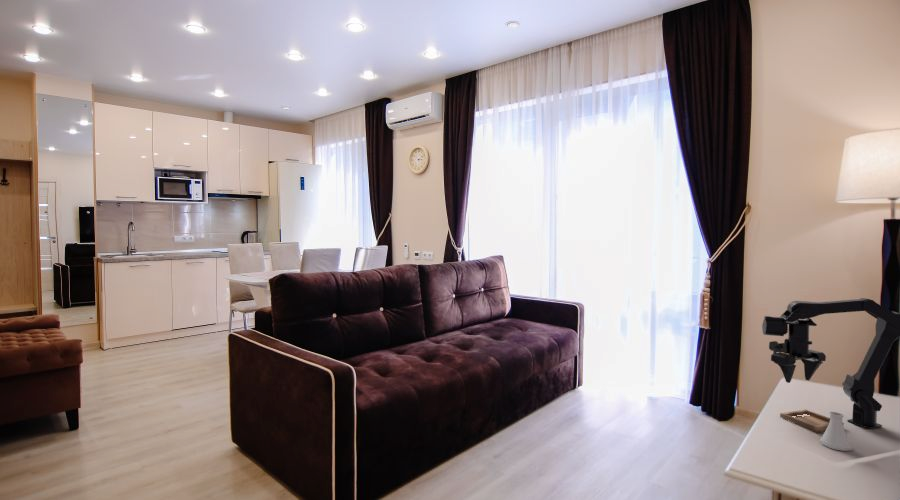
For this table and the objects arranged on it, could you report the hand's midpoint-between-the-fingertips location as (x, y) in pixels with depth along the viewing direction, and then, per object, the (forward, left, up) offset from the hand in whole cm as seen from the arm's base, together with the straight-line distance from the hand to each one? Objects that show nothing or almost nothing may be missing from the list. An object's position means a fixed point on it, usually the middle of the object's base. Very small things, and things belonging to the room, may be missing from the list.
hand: (797, 381), depth 157 cm
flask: (+12, +20, -13) cm, 27 cm away
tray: (+2, +6, -12) cm, 14 cm away
